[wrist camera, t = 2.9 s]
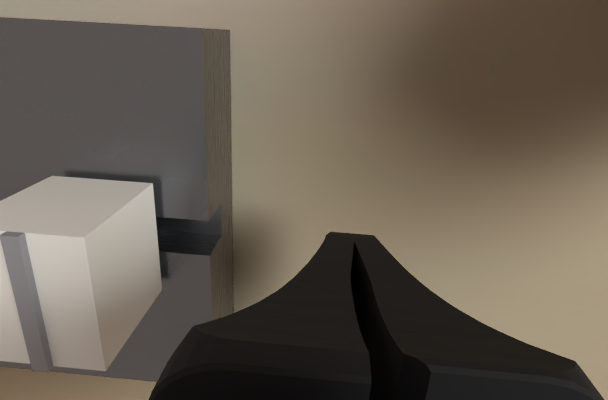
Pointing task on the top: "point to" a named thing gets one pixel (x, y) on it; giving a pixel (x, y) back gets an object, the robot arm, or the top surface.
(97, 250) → the fader tab
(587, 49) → the top surface
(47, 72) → the fader console
